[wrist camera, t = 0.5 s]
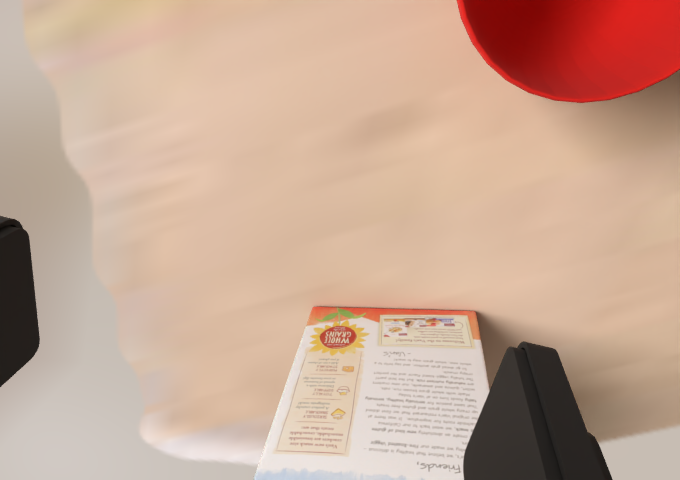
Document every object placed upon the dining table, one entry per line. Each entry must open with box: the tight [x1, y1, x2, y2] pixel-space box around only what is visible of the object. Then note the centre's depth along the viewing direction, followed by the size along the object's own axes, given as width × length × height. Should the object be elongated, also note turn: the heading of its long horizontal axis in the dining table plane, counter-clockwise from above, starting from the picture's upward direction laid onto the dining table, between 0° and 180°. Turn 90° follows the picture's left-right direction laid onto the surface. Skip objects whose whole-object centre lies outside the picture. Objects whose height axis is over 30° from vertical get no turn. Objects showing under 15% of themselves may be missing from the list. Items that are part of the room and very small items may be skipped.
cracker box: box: [254, 307, 490, 480], centre depth 35 cm, size 14×6×21 cm, turn 93°
